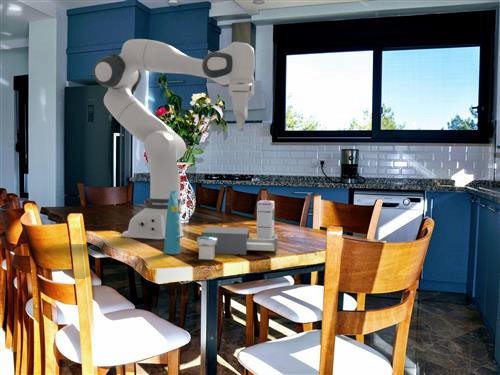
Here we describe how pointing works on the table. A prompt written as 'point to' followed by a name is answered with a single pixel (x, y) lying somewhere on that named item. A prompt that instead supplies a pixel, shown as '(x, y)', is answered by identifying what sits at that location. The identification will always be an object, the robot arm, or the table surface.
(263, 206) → the syrup box
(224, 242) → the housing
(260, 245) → the tray
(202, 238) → the disc
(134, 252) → the table surface
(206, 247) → the block
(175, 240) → the tube
